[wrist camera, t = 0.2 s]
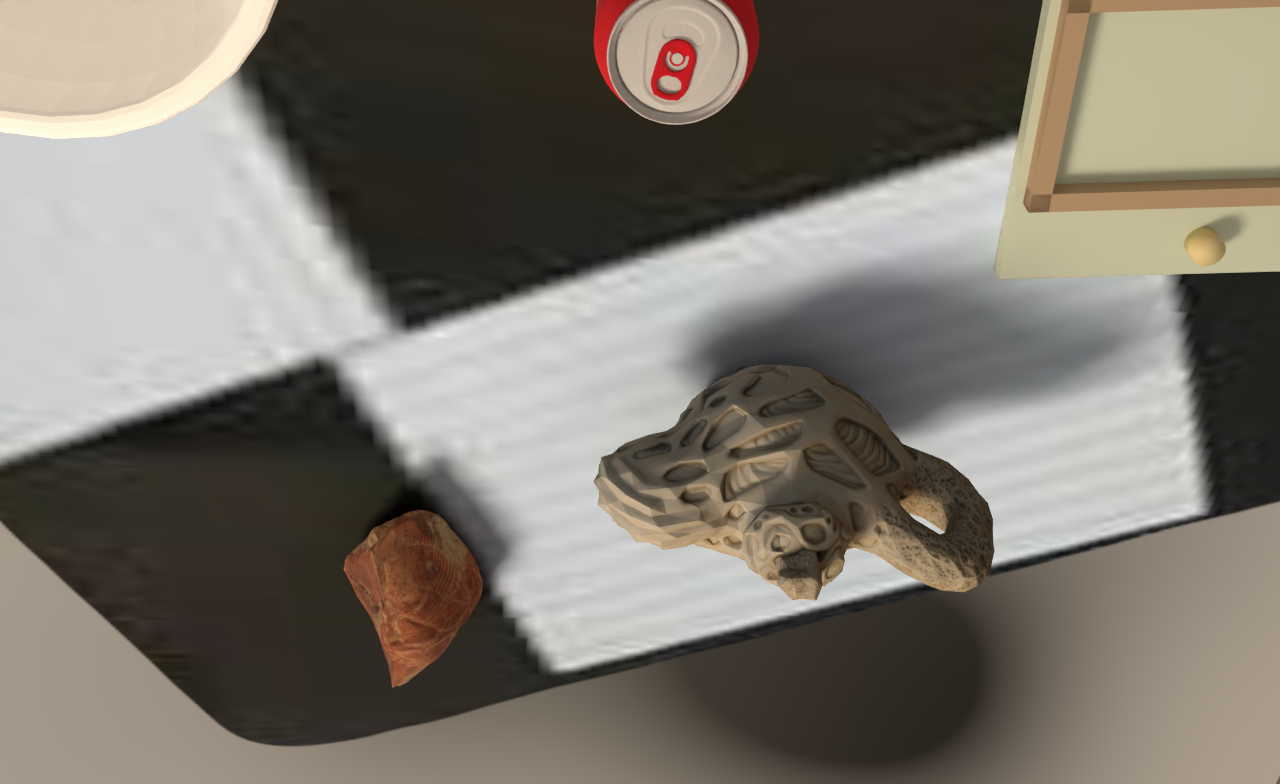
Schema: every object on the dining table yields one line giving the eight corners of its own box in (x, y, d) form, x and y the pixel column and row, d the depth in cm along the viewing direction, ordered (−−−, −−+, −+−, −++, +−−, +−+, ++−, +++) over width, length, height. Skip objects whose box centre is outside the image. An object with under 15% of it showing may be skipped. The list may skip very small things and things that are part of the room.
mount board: (1066, -130, 50) (1082, -116, 48) (1540, -146, 50) (1572, -133, 48) (994, 269, 62) (1004, 291, 61) (1373, 258, 62) (1394, 280, 60)
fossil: (443, 689, 78) (373, 747, 69) (343, 622, 80) (261, 669, 70) (529, 531, 76) (468, 568, 66) (424, 464, 77) (349, 491, 68)
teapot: (590, 467, 71) (581, 665, 59) (605, 309, 64) (598, 498, 52) (935, 491, 72) (994, 689, 60) (987, 339, 65) (1065, 530, 53)
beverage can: (759, -97, 51) (787, 0, 41) (716, 37, 55) (733, 155, 45) (620, -137, 50) (616, -47, 40) (585, 3, 54) (575, 115, 44)
